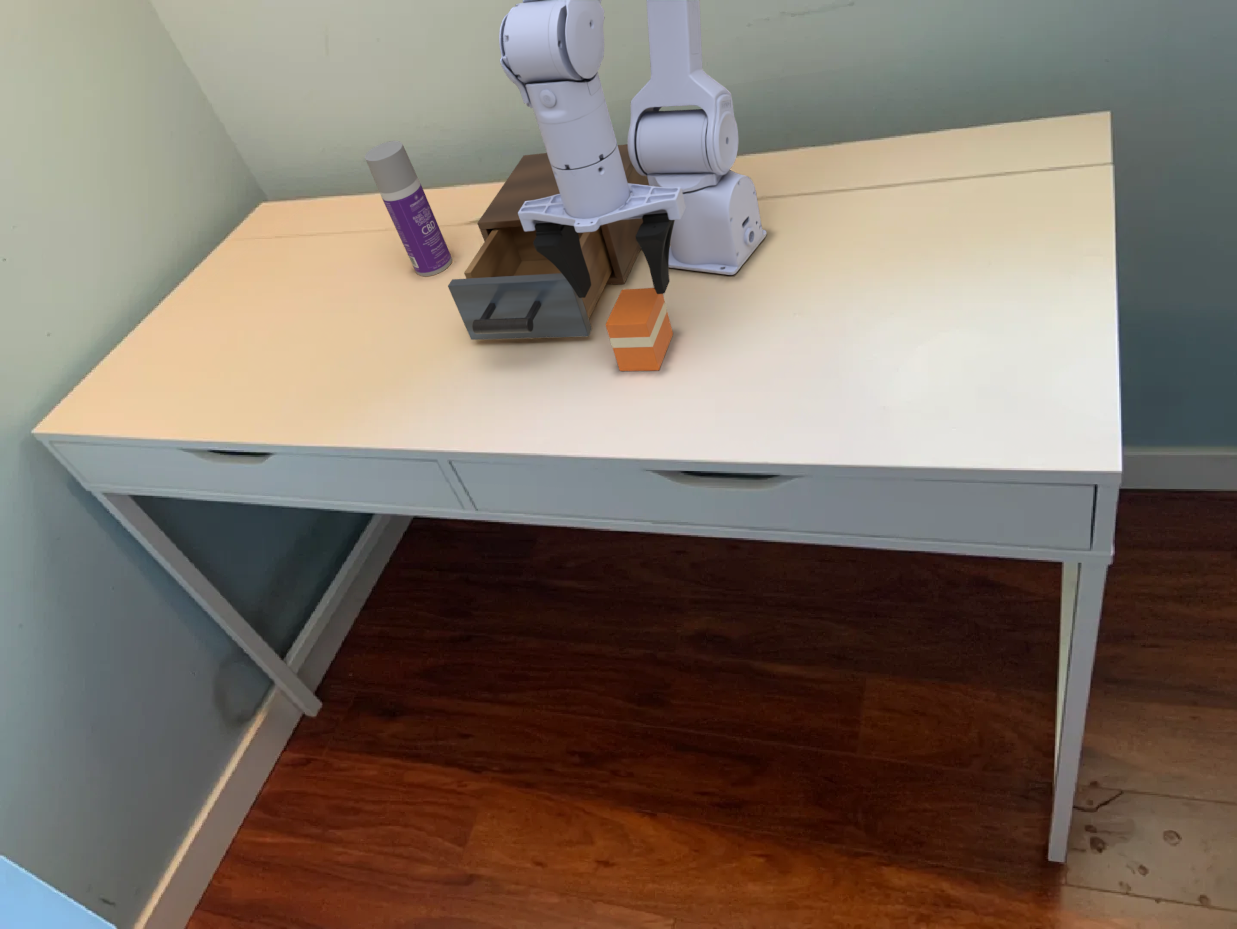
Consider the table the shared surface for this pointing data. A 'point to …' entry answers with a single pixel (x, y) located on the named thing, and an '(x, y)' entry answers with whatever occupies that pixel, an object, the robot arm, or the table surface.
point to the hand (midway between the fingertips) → (623, 289)
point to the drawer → (527, 288)
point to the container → (408, 208)
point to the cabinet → (539, 182)
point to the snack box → (639, 329)
